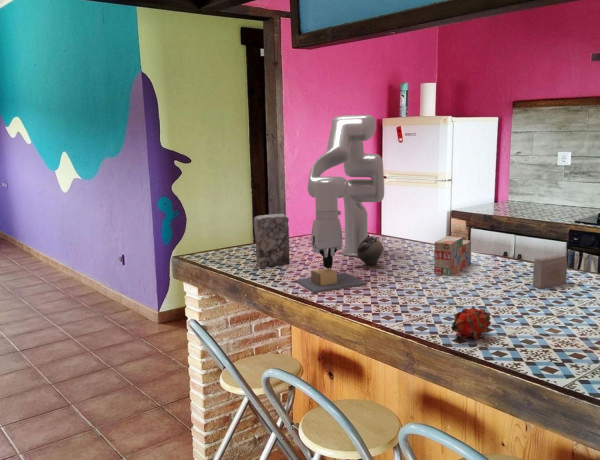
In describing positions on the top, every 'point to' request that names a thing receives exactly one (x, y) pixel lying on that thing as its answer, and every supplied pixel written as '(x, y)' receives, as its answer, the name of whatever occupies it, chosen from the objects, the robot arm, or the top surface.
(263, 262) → the stone block
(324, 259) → the robot arm
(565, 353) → the top surface
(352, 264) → the top surface
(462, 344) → the top surface
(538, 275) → the taupe upright slab
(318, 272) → the block
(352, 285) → the mat
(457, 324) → the dragon fruit
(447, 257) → the stack of blocks
